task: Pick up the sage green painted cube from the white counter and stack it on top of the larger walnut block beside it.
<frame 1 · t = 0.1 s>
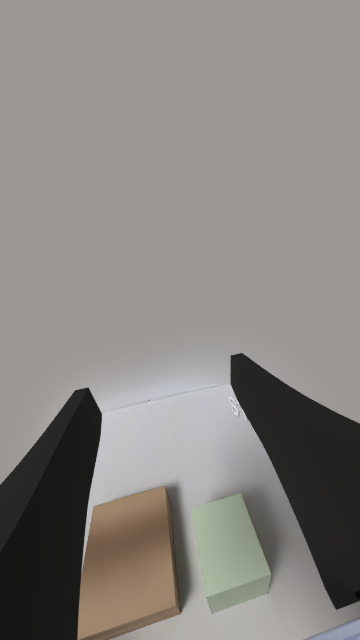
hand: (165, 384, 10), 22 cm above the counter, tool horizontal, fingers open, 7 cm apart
walnut block: (135, 558, 20), on the counter
sage cube: (228, 558, 19), on the counter
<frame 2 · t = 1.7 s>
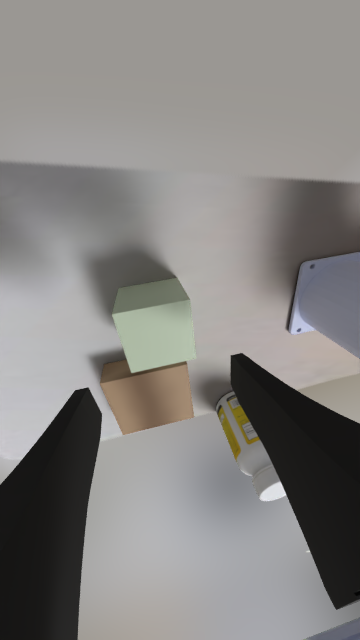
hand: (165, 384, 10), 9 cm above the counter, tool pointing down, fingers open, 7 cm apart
walnut block: (150, 380, 23), on the counter
supplement bottle: (233, 401, 27), on the counter
sage cube: (153, 308, 18), on the counter
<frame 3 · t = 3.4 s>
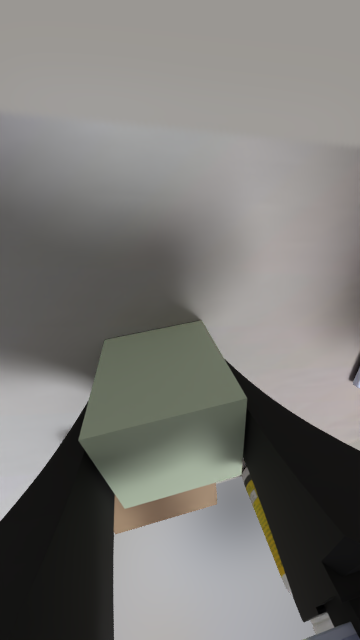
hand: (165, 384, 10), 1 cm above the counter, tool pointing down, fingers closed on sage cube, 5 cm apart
walnut block: (155, 450, 16), on the counter
supplement bottle: (264, 463, 20), on the counter
sage cube: (162, 366, 11), on the counter, touching gripper
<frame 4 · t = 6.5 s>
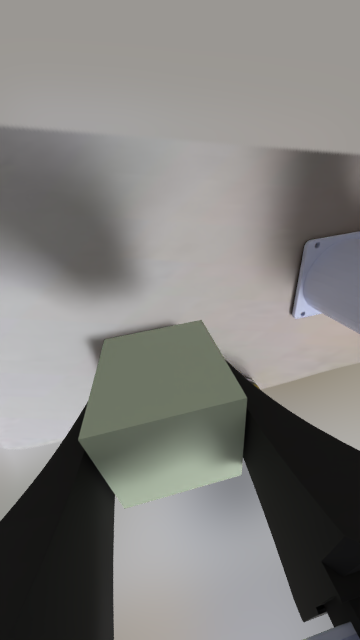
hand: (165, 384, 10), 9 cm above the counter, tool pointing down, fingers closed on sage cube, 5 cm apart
sage cube: (162, 365, 11), point 8 cm above the counter, touching gripper
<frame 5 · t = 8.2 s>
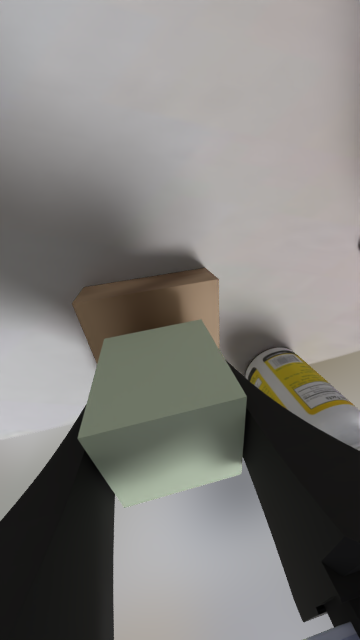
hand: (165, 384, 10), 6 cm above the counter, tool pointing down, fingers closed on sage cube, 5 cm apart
walnut block: (156, 325, 15), on the counter
supplement bottle: (268, 366, 20), on the counter
sage cube: (162, 365, 11), point 4 cm above the counter, touching gripper
when the fingers open (5 cm above the counter, at t = 9.5 s): sage cube drops 1 cm, resting on walnut block.
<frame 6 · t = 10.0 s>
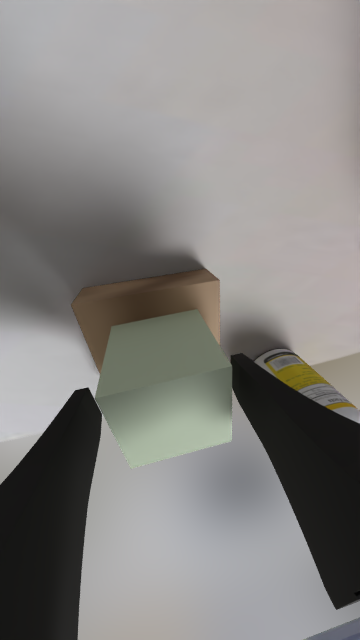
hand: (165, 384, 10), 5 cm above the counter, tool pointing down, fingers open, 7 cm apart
walnut block: (156, 326, 15), on the counter, touching sage cube
supplement bottle: (269, 367, 19), on the counter
sage cube: (162, 351, 13), point 3 cm above the counter, touching walnut block
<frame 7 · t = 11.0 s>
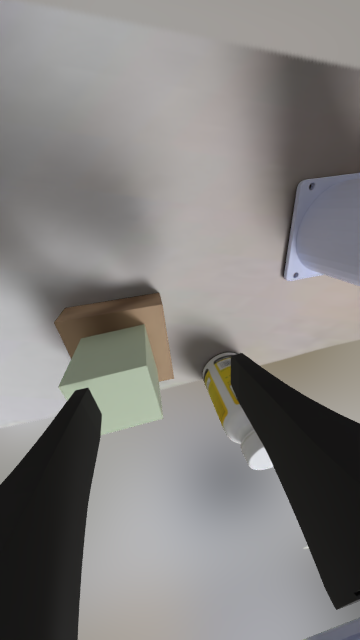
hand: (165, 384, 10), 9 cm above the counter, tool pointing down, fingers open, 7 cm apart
walnut block: (124, 335, 19), on the counter
supplement bottle: (222, 367, 24), on the counter
sage cube: (122, 355, 17), point 3 cm above the counter
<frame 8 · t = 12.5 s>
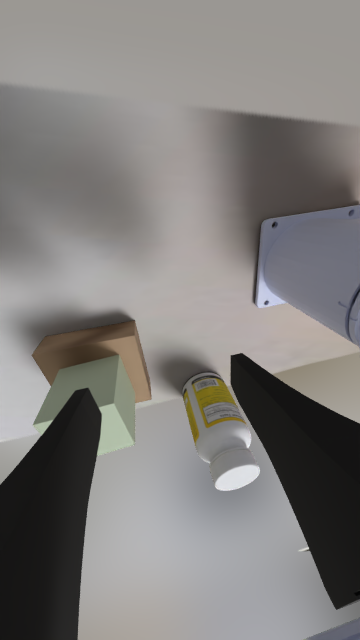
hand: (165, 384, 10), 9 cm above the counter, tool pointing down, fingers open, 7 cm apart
walnut block: (104, 358, 20), on the counter, touching sage cube
supplement bottle: (202, 386, 25), on the counter
sage cube: (100, 382, 18), point 3 cm above the counter, touching walnut block
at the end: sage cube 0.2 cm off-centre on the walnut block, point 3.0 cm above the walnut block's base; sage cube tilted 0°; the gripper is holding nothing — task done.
